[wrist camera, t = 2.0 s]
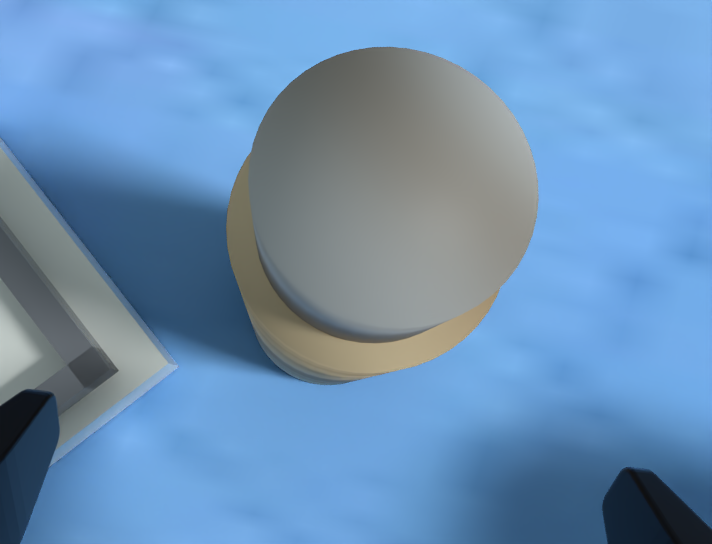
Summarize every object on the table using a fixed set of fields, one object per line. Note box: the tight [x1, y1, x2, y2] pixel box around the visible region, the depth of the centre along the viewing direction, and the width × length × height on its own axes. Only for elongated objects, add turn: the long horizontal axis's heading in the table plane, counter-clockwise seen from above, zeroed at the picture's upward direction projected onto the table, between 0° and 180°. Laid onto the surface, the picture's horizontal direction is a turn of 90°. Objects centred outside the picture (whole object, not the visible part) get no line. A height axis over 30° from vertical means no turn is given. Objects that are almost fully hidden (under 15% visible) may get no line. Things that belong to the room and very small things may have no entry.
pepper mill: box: [226, 47, 538, 385], centre depth 15 cm, size 5×5×12 cm
